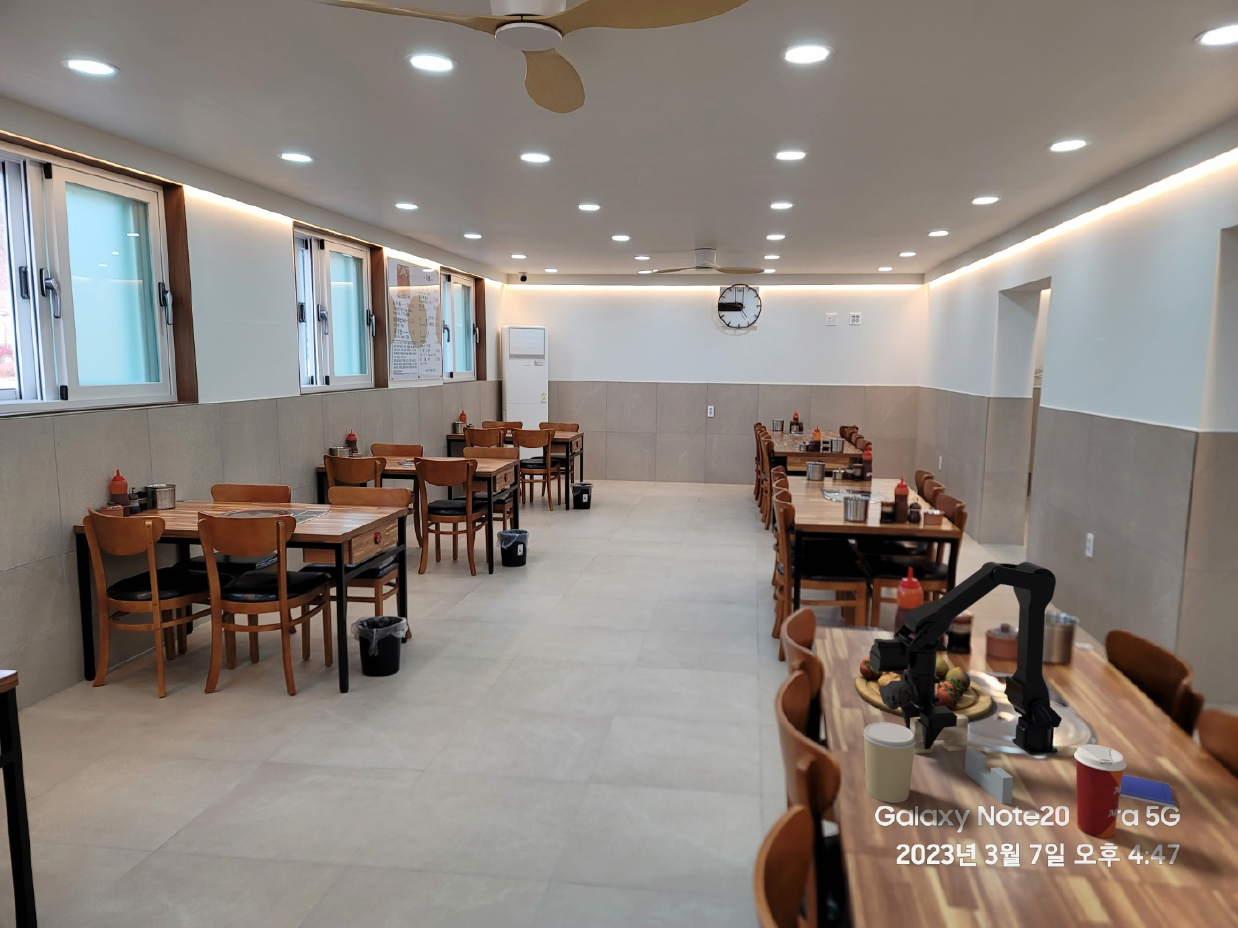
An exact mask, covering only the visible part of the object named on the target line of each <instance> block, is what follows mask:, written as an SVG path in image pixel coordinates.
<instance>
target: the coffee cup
mask: <svg viewBox="0 0 1238 928" xmlns="http://www.w3.org/2000/svg"><path fill="white" fill-rule="evenodd" d="M863 737H864V738H863V739H864V741H863V742H864V744H863V745H864V765H865V766H864V769H865V786H866V787H865V788H866V792H867V793H868V795H870V797H872V798H874V799H876V800H878V801H880V802H884V803H885V802H886V803H890V804H891V803H892V804H896V803H903V802H905V801H906V800H908V799H909V796H910V788H911V782H912V781H911V780H912V773H913V772H912V771H913V764H914V756H915V755H914V745H915V742H916V738H915V736H914V734H913V732H912V731H911V730H909V729H908V728H906V726H904V725H901V724H897V723H893V722H888V721H887V722H886V721H884V722H883V721H882V722H881V721H880V722H873V723H870V724H868V725H867V726H866V727H865V728H864V730H863Z"/></svg>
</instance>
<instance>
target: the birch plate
mask: <svg viewBox="0 0 1238 928" xmlns="http://www.w3.org/2000/svg"><path fill="white" fill-rule="evenodd" d="M956 716H957V726H956V727H944V728H943V730H942V731H941V732H940V734H939V735H938V737H937V738H936V740H935V741H934V742H936V741H938V742H939V741H943V748H944V749H946V750H947V751H948V752H956V751H957V752H958V751H966V748H968V736H969V735H968V731H969V721H968V718H967V717H966V716H965V715H963V714H960V715H956ZM916 719H920V717H914V718H910V730H911V731H912V732H913V734H914V736H915V738H916V742H915V745H914V754H915V755H916V754H927V753H933V751H934V749H933V748H934V744H933V745H932V746H931V748H930V749H924V744H923V732H922V725H921V724H920V723H919V722H918V721H917V720H916Z"/></svg>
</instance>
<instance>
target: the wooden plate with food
mask: <svg viewBox="0 0 1238 928" xmlns="http://www.w3.org/2000/svg"><path fill="white" fill-rule="evenodd" d="M859 672H860V673H859V674H858V675H857V677H856V678H855V681H854V687H855V691H856V692H857V694H858V695H859V697H860V698H861V699H862V700H864V701H865V702H866V703H867V704H869V705H871V706H873V707H875V708H876V709H879V710H881V711H883V712H886V713H889V714H891V715H896V716H897V717H903V714H902V710H901V708H900V707H899V708H898V709H895V710H891V709H889V707H888V706H887V705H886V704H884V703H883V701H882V698H881V695H880V692H879V688H881V687H883V686H885V685H887V684H888V683H889V682H890V681H898V680H901V675H902V674H903V672H907V670H904V671H903V672H874V671H873V669H872V667H871V664H870V657H869V656H867V657H865V658H863V660H862V662H861V663H860V666H859ZM936 676H937V677H939V678H940V683H936V687H935V695H936V696H938V697H939V702H936V703H933V704H932V705H934V706H945V707H947V708H948V709H949V710H951V711H952V712H953V713H954V714H955V715H960V714H963V715H965V716H966V717H967V718H968V722H969V720H970V721H974V720H977V719H980V718H982V716H983V717H984V716H986V715H988V714H989V713H988V712H990V711H991V710H992V707H993V700H992V696H991V695H990V694H989V692H988V691H987V690H986V689H985V688H984V687H982V686H981V685H979V683H978V684H977V683H976V682H974V681H972V680H971V678H970V676H969V673H967V672H966V670H964V669H963V668H962V667H960V666H956V667H954V668H951V669H950V667H949V664H948V663H947V661H946V660H945V659H943V658H942V657H940V656H939V655H937V662H936ZM919 717H920V716H919ZM903 718H904V717H903ZM973 719H974V720H973Z"/></svg>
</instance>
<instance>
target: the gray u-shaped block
mask: <svg viewBox="0 0 1238 928" xmlns="http://www.w3.org/2000/svg"><path fill="white" fill-rule="evenodd" d="M987 759H988V758H987V755H986V754H984V753H983V752H981V751H980V750H979V749H978V748H976V747H967V748H966V750H965V764H964V773H965V774H966V775H967V776H969V778H971V779H972V780H973V781H974V782H976V783H977V784H978V785H979V786H980V787H981V788H983V790H985V791H986V792H987V793H989V795H991V796H992V797H993V798H994V799H996V801H998V802H999V803H1000V804H1001V805H1003V804H1004V805H1005V804H1012V803H1013V791H1014V790H1013V789H1014V788H1013V786H1014V777H1013V776H1012V775H1011V774H1009V773H1008V772H1007V771H1006V770H1005V769H1003V768H1002V767H991V768H990V771H989V770H988V769H987Z"/></svg>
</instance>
